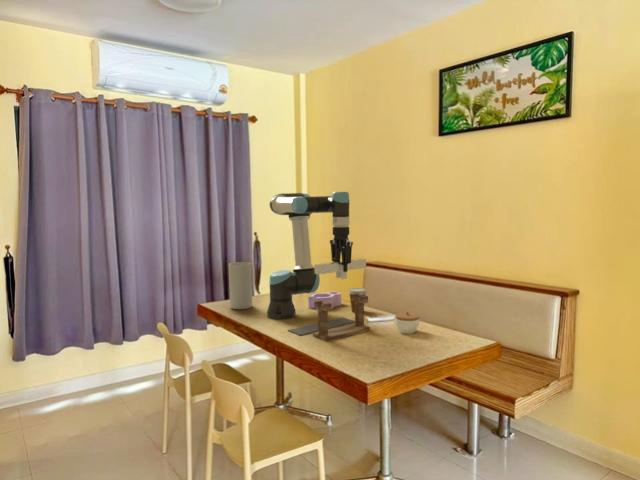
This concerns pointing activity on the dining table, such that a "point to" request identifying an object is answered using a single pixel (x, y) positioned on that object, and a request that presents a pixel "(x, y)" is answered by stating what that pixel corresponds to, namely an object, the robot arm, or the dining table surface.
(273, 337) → the dining table surface
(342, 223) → the robot arm
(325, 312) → the hook rack
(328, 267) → the steel rail
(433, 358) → the dining table surface
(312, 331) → the rubber mat
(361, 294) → the disposable coffee cup
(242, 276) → the cylinder vase
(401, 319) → the lidded jar
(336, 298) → the lilac boxy piece
